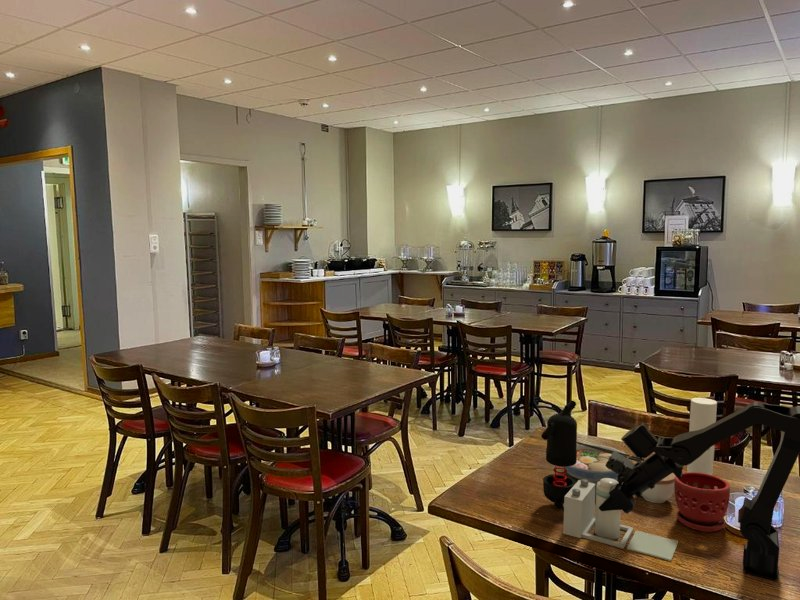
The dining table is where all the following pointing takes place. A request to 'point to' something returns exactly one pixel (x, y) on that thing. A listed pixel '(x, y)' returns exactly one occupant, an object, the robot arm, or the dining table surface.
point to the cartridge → (606, 512)
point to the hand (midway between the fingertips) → (602, 504)
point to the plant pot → (701, 501)
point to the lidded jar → (660, 490)
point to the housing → (585, 514)
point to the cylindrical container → (699, 419)
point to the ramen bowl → (595, 462)
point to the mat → (653, 545)
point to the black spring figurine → (560, 453)
